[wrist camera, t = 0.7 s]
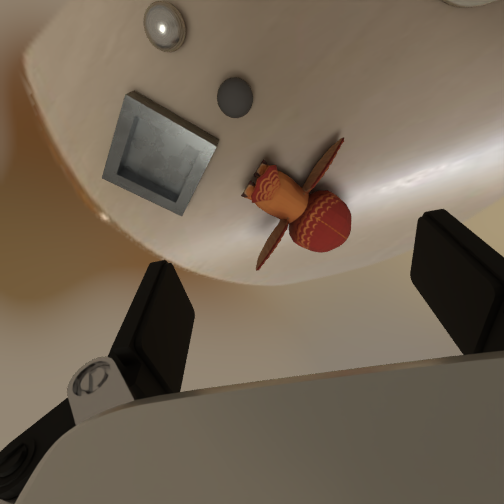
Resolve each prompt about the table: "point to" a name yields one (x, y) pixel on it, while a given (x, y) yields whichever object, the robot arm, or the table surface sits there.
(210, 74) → the table surface
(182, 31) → the steel ball
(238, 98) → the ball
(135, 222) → the table surface
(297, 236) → the figurine
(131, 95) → the square metal tray
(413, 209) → the table surface
